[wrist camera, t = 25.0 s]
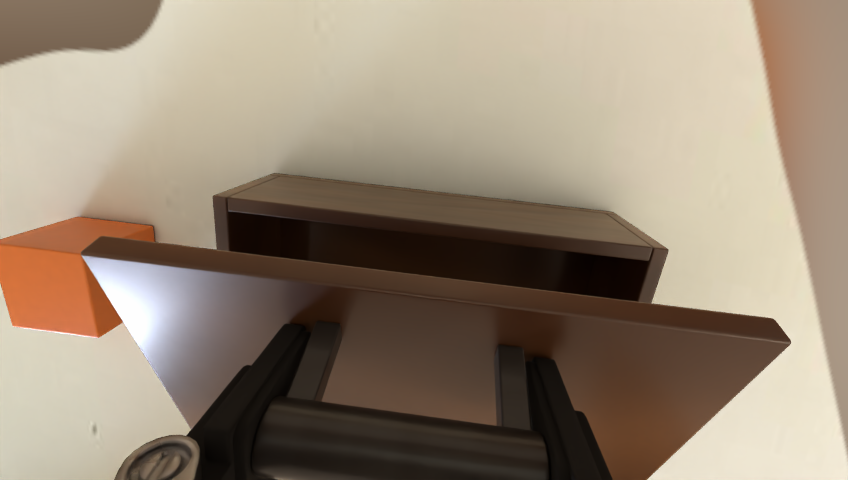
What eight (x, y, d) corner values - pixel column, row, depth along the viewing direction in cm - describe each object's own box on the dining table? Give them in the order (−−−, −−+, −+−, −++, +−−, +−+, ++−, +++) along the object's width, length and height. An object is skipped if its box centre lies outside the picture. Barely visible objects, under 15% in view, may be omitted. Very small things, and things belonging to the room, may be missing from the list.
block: (77, 216, 23) (-13, 242, 18) (153, 225, 22) (81, 254, 18) (91, 287, 24) (11, 327, 20) (163, 296, 24) (98, 338, 20)
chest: (273, 172, 21) (211, 195, 16) (613, 211, 20) (669, 249, 15) (279, 394, 26) (234, 469, 20) (554, 432, 25) (580, 520, 20)
